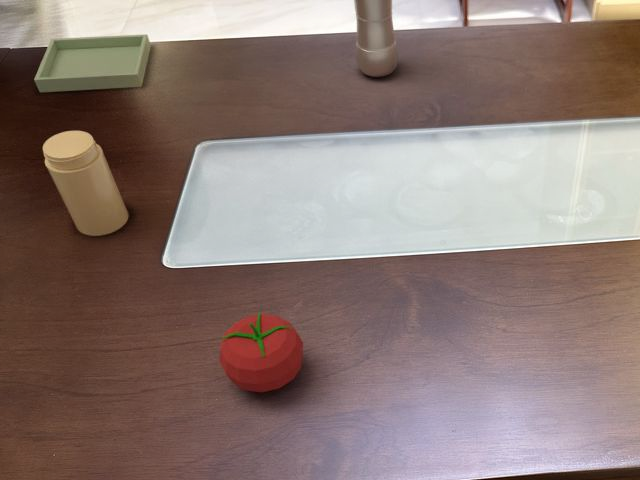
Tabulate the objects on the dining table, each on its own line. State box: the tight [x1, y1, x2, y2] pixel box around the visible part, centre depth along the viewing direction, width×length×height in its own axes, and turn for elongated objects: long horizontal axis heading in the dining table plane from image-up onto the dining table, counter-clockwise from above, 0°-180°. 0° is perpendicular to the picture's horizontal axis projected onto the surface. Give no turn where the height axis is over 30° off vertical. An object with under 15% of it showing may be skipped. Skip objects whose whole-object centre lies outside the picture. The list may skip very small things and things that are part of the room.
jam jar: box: [42, 130, 130, 237], centre depth 83 cm, size 6×6×11 cm
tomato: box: [219, 310, 304, 393], centre depth 70 cm, size 8×8×8 cm
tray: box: [33, 34, 152, 93], centre depth 109 cm, size 14×12×2 cm
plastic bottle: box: [353, 0, 399, 78], centre depth 104 cm, size 6×7×20 cm
